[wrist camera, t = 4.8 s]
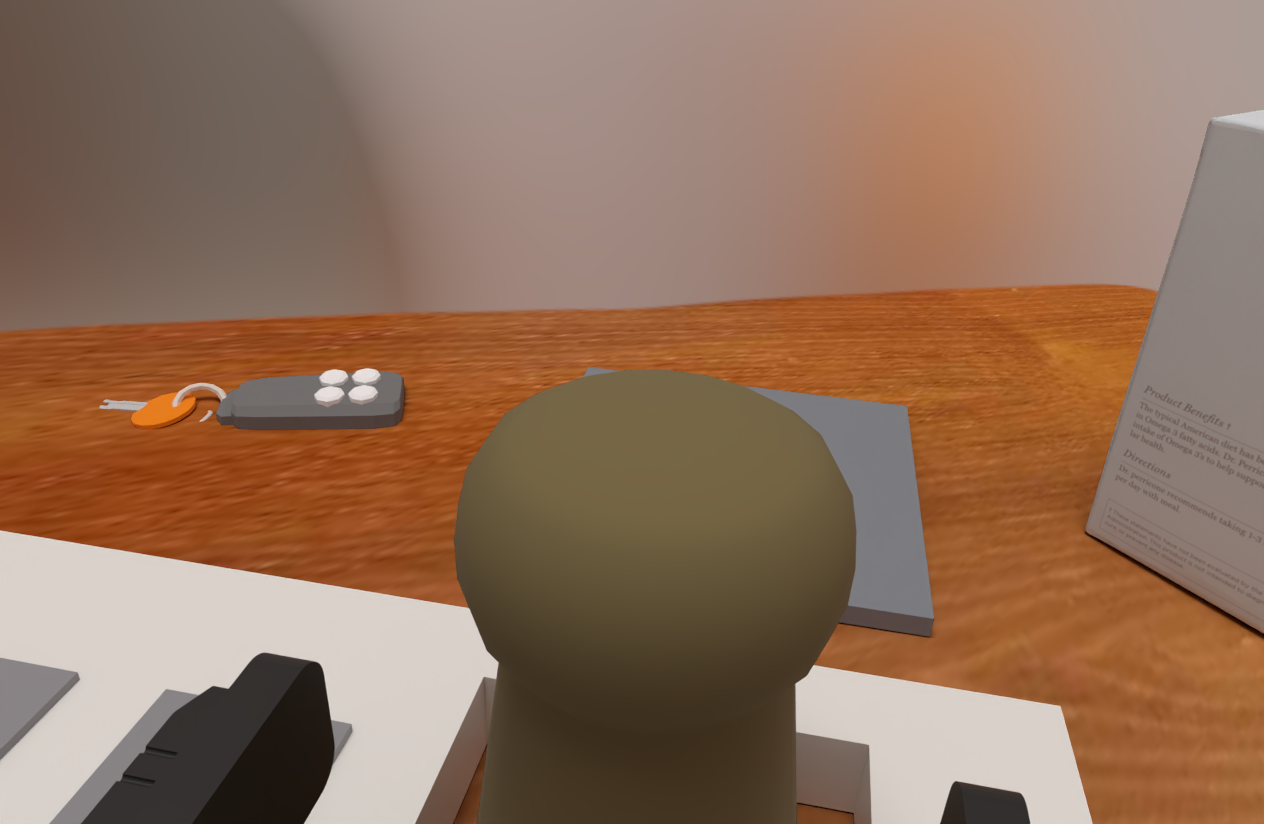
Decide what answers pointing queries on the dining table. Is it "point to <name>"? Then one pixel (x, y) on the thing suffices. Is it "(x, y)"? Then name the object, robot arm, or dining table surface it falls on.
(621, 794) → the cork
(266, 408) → the key chain
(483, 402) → the dining table surface
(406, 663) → the socket strip
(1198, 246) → the supplement box
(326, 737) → the robot arm
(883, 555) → the slate mat
